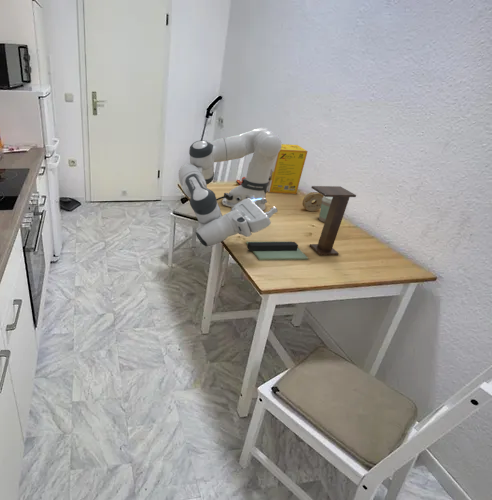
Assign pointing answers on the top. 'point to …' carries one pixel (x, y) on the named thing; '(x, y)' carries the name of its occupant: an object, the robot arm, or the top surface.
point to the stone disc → (315, 205)
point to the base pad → (280, 255)
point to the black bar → (272, 246)
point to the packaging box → (287, 169)
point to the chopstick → (239, 182)
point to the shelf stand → (331, 217)
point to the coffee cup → (325, 208)
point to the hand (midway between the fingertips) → (271, 204)
